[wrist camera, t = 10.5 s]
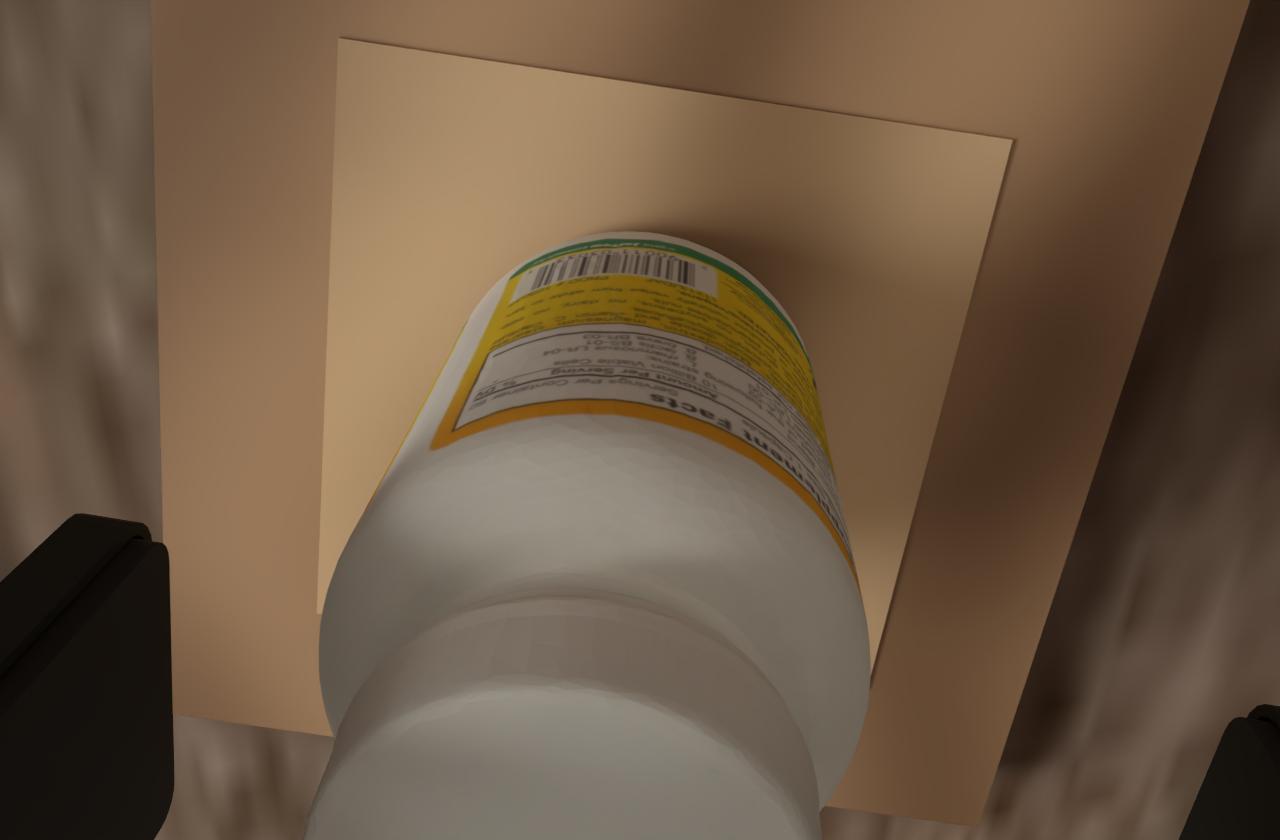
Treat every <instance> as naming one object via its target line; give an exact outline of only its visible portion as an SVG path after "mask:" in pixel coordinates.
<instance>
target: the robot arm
mask: <svg viewBox="0 0 1280 840" xmlns="http://www.w3.org/2000/svg"><path fill="white" fill-rule="evenodd" d="M173 791H174V743H173V699H172V654H171V609H170V564H169V552H168V550H167V547H166V546H165V545H164V544H163V543H159V542H153V541H152V539H151V534H150V532H149V529H148V527H147V526H146V525H144V524H143V523H139V522H133V521H127V520H120V519H114V518H108V517H102V516H96V515H89V514H83V513H82V514H75V515H73V516H72V517H70V518H69V519H67V520H66V521H65V522H64V523H63V524H62V525H61V526H60V527H59V528H58V529H57V530H56V531H55V532H53V533H52V534H51V535H50V536H49V537H48V538H47V539H46V540H45V541H44V542H43V543H42V544H41V545H40V546H38V547H37V548H36V549H35V550H34V551H33V552H32V553H31V554H30V555H29V556H28V557H27V558H26V559H25V560H24V561H22V562H21V563H20V564H19V565H18V566H17V567H16V568H15V569H14V570H13V571H12V572H11V573H10V574H9V575H8V576H6V577H5V578H4V579H3V580H2V581H1V582H0V840H154V839H155V837H156V835H157V834H158V832H159V831H160V829H161V827H162V825H163V823H164V821H165V819H166V817H167V814H168V811H169V808H170V805H171V801H172V797H173ZM1179 840H1280V706H1274V705H1268V704H1264V705H1260V706H1257V707H1256V708H1254V709H1253V710H1252V711H1251V712H1250V713H1249V715H1248V717H1247V718H1243V717H1238V718H1234V719H1233V720H1232V721H1231V722H1230V723H1229V724H1228V726H1227V728H1226V729H1225V731H1224V734H1223V736H1222V738H1221V741H1220V743H1219V745H1218V748H1217V750H1216V753H1215V755H1214V757H1213V760H1212V762H1211V764H1210V767H1209V769H1208V772H1207V774H1206V776H1205V779H1204V781H1203V783H1202V786H1201V788H1200V791H1199V793H1198V795H1197V798H1196V800H1195V802H1194V805H1193V807H1192V809H1191V812H1190V814H1189V817H1188V819H1187V821H1186V824H1185V826H1184V828H1183V831H1182V833H1181V836H1180V838H1179Z"/></svg>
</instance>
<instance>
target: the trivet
mask: <svg viewBox="0 0 1280 840" xmlns="http://www.w3.org/2000/svg"><path fill="white" fill-rule="evenodd" d="M1249 3H1250V0H151V40H152V83H153V126H154V168H155V211H156V254H157V297H158V340H159V382H160V425H161V468H162V511H163V544H164V545H165V546H166V547H167V550H168V552H169V564H170V609H171V654H172V699H173V714H175V715H182V716H189V717H196V718H204V719H211V720H218V721H225V722H232V723H239V724H246V725H253V726H260V727H268V728H275V729H282V730H289V731H296V732H303V733H310V734H317V735H325V736H332V737H334V736H333V733H332V730H331V727H330V725H329V722H328V719H327V716H326V712H325V707H324V703H323V698H322V692H321V686H320V678H319V649H318V647H319V635H320V623H321V618H322V612H323V607H324V603H325V599H326V595H327V590H328V587H329V585H330V582H331V579H332V576H333V573H334V571H335V568H336V565H337V562H338V560H339V558H340V556H341V554H342V552H343V550H344V548H345V546H346V544H347V542H348V540H349V538H350V536H351V534H352V532H353V530H354V529H355V527H356V525H357V523H358V521H359V520H360V518H361V516H362V514H363V512H364V511H365V509H366V507H367V505H368V503H369V501H370V499H371V497H372V496H373V494H374V492H375V490H376V488H377V486H378V484H379V483H380V481H381V479H382V477H383V475H384V474H385V472H386V470H387V468H388V466H389V465H390V463H391V461H392V459H393V457H394V456H395V454H396V452H397V450H398V448H399V447H400V445H401V443H402V441H403V439H404V438H405V436H406V434H407V432H408V430H409V428H410V426H411V425H412V423H413V421H414V419H415V417H416V415H417V413H418V411H419V409H420V407H421V406H422V404H423V402H424V400H425V398H426V396H427V394H428V393H429V391H430V389H431V387H432V385H433V383H434V381H435V379H436V377H437V376H438V374H439V372H440V370H441V368H442V366H443V365H444V363H445V361H446V359H447V357H448V356H449V354H450V352H451V350H452V348H453V346H454V344H455V342H456V340H457V338H458V336H459V334H460V332H461V330H462V329H463V327H464V325H465V324H466V322H467V321H468V319H469V317H470V316H471V314H472V312H473V311H474V309H475V308H476V306H477V305H478V304H479V302H480V301H481V300H482V299H483V297H484V296H485V295H486V294H487V292H488V291H489V290H490V289H491V288H492V287H493V286H494V285H495V284H496V283H497V282H498V281H499V280H500V279H501V278H503V277H504V276H505V275H506V274H507V273H508V272H510V271H511V270H512V269H513V268H515V267H516V266H517V265H519V264H520V263H522V262H523V261H525V260H527V259H528V258H530V257H532V256H534V255H535V254H537V253H539V252H541V251H543V250H545V249H547V248H549V247H552V246H554V245H556V244H559V243H561V242H564V241H567V240H570V239H574V238H577V237H580V236H585V235H591V234H597V233H604V232H621V231H635V232H651V233H657V234H663V235H668V236H672V237H676V238H680V239H684V240H687V241H690V242H693V243H695V244H698V245H701V246H703V247H706V248H708V249H710V250H713V251H715V252H717V253H719V254H721V255H723V256H724V257H726V258H728V259H730V260H731V261H733V262H735V263H736V264H738V265H739V266H740V267H742V268H743V269H745V270H746V271H747V272H749V273H750V274H751V275H752V276H753V277H755V278H756V279H757V280H758V281H759V282H760V283H761V284H762V285H763V286H764V287H765V288H766V289H767V290H768V291H769V292H770V293H771V294H772V295H773V296H774V298H775V299H776V300H777V301H778V302H779V303H780V305H781V306H782V307H783V309H784V310H785V311H786V313H787V314H788V316H789V317H790V319H791V320H792V322H793V323H794V325H795V326H796V328H797V330H798V332H799V334H800V337H801V339H802V341H803V343H804V346H805V349H806V352H807V355H808V358H809V360H810V364H811V368H812V372H813V376H814V379H815V382H816V386H817V392H818V397H819V401H820V406H821V411H822V417H823V422H824V427H825V431H826V436H827V441H828V445H829V450H830V454H831V459H832V463H833V468H834V473H835V477H836V482H837V486H838V490H839V494H840V498H841V503H842V507H843V512H844V517H845V521H846V526H847V531H848V535H849V540H850V545H851V549H852V553H853V556H854V562H855V567H856V572H857V576H858V581H859V585H860V590H861V595H862V600H863V604H864V609H865V614H866V619H867V626H868V634H869V642H870V659H871V675H870V692H869V700H868V708H867V712H866V716H865V720H864V724H863V728H862V731H861V735H860V738H859V741H858V744H857V747H856V751H855V753H854V755H853V757H852V760H851V762H850V764H849V766H848V768H847V770H846V772H845V774H844V776H843V778H842V779H841V781H840V783H839V784H838V786H837V788H836V789H835V791H834V793H833V794H832V796H831V797H830V799H829V800H828V801H827V803H826V804H825V805H824V806H830V807H837V808H844V809H851V810H858V811H865V812H872V813H879V814H887V815H894V816H901V817H908V818H915V819H922V820H929V821H936V822H943V823H951V824H958V825H965V826H972V827H978V825H979V822H980V819H981V816H982V813H983V810H984V807H985V804H986V801H987V798H988V795H989V792H990V789H991V786H992V783H993V780H994V777H995V774H996V771H997V768H998V765H999V762H1000V759H1001V756H1002V753H1003V749H1004V746H1005V743H1006V740H1007V737H1008V734H1009V731H1010V728H1011V725H1012V722H1013V719H1014V716H1015V713H1016V710H1017V707H1018V704H1019V701H1020V698H1021V695H1022V692H1023V689H1024V686H1025V683H1026V680H1027V677H1028V674H1029V671H1030V668H1031V664H1032V661H1033V658H1034V655H1035V652H1036V649H1037V646H1038V643H1039V640H1040V637H1041V634H1042V631H1043V628H1044V625H1045V622H1046V619H1047V616H1048V613H1049V610H1050V607H1051V604H1052V601H1053V598H1054V595H1055V592H1056V589H1057V586H1058V583H1059V579H1060V576H1061V573H1062V570H1063V567H1064V564H1065V561H1066V558H1067V555H1068V552H1069V549H1070V546H1071V543H1072V540H1073V537H1074V534H1075V531H1076V528H1077V525H1078V522H1079V519H1080V516H1081V513H1082V510H1083V507H1084V504H1085V501H1086V498H1087V494H1088V491H1089V488H1090V485H1091V482H1092V479H1093V476H1094V473H1095V470H1096V467H1097V464H1098V461H1099V458H1100V455H1101V452H1102V449H1103V446H1104V443H1105V440H1106V437H1107V434H1108V431H1109V428H1110V425H1111V422H1112V419H1113V416H1114V412H1115V409H1116V406H1117V403H1118V400H1119V397H1120V394H1121V391H1122V388H1123V385H1124V382H1125V379H1126V376H1127V373H1128V370H1129V367H1130V364H1131V361H1132V358H1133V355H1134V352H1135V349H1136V346H1137V343H1138V340H1139V337H1140V334H1141V331H1142V327H1143V324H1144V321H1145V318H1146V315H1147V312H1148V309H1149V306H1150V303H1151V300H1152V297H1153V294H1154V291H1155V288H1156V285H1157V282H1158V279H1159V276H1160V273H1161V270H1162V267H1163V264H1164V261H1165V258H1166V255H1167V252H1168V249H1169V246H1170V242H1171V239H1172V236H1173V233H1174V230H1175V227H1176V224H1177V221H1178V218H1179V215H1180V212H1181V209H1182V206H1183V203H1184V200H1185V197H1186V194H1187V191H1188V188H1189V185H1190V182H1191V179H1192V176H1193V173H1194V170H1195V167H1196V164H1197V161H1198V157H1199V154H1200V151H1201V148H1202V145H1203V142H1204V139H1205V136H1206V133H1207V130H1208V127H1209V124H1210V121H1211V118H1212V115H1213V112H1214V109H1215V106H1216V103H1217V100H1218V97H1219V94H1220V91H1221V88H1222V85H1223V82H1224V79H1225V75H1226V72H1227V69H1228V66H1229V63H1230V60H1231V57H1232V54H1233V51H1234V48H1235V45H1236V42H1237V39H1238V36H1239V33H1240V30H1241V27H1242V24H1243V21H1244V18H1245V15H1246V12H1247V9H1248V6H1249Z"/></svg>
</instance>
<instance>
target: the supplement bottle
mask: <svg viewBox="0 0 1280 840" xmlns="http://www.w3.org/2000/svg"><path fill="white" fill-rule="evenodd" d="M318 649H319V678H320V686H321V692H322V698H323V703H324V707H325V712H326V716H327V719H328V722H329V725H330V727H331V730H332V733H333V736H334V739H335V743H334V748H333V752H332V755H331V757H330V760H329V762H328V765H327V767H326V770H325V772H324V775H323V777H322V780H321V782H320V785H319V787H318V790H317V793H316V795H315V798H314V800H313V803H312V806H311V809H310V811H309V814H308V818H307V823H306V828H305V833H304V838H303V840H822V834H821V824H820V814H819V812H820V811H821V810H822V808H823V807H824V805H825V804H826V803H827V801H828V800H829V799H830V797H831V796H832V794H833V793H834V791H835V789H836V788H837V786H838V784H839V783H840V781H841V779H842V778H843V776H844V774H845V772H846V770H847V768H848V766H849V764H850V762H851V760H852V757H853V755H854V753H855V751H856V747H857V744H858V741H859V738H860V735H861V731H862V728H863V724H864V720H865V716H866V712H867V708H868V700H869V692H870V675H871V659H870V642H869V634H868V626H867V619H866V614H865V609H864V604H863V600H862V595H861V590H860V585H859V581H858V576H857V572H856V567H855V562H854V556H853V553H852V549H851V545H850V540H849V535H848V531H847V526H846V521H845V517H844V512H843V507H842V503H841V498H840V494H839V490H838V486H837V482H836V477H835V473H834V468H833V463H832V459H831V454H830V450H829V445H828V441H827V436H826V431H825V427H824V422H823V417H822V411H821V406H820V401H819V397H818V392H817V386H816V382H815V379H814V376H813V372H812V368H811V364H810V360H809V358H808V355H807V352H806V349H805V346H804V343H803V341H802V339H801V337H800V334H799V332H798V330H797V328H796V326H795V325H794V323H793V322H792V320H791V319H790V317H789V316H788V314H787V313H786V311H785V310H784V309H783V307H782V306H781V305H780V303H779V302H778V301H777V300H776V299H775V298H774V296H773V295H772V294H771V293H770V292H769V291H768V290H767V289H766V288H765V287H764V286H763V285H762V284H761V283H760V282H759V281H758V280H757V279H756V278H755V277H753V276H752V275H751V274H750V273H749V272H747V271H746V270H745V269H743V268H742V267H740V266H739V265H738V264H736V263H735V262H733V261H731V260H730V259H728V258H726V257H724V256H723V255H721V254H719V253H717V252H715V251H713V250H710V249H708V248H706V247H703V246H701V245H698V244H695V243H693V242H690V241H687V240H684V239H680V238H676V237H672V236H668V235H663V234H657V233H651V232H635V231H621V232H604V233H597V234H591V235H585V236H580V237H577V238H574V239H570V240H567V241H564V242H561V243H559V244H556V245H554V246H552V247H549V248H547V249H545V250H543V251H541V252H539V253H537V254H535V255H534V256H532V257H530V258H528V259H527V260H525V261H523V262H522V263H520V264H519V265H517V266H516V267H515V268H513V269H512V270H511V271H510V272H508V273H507V274H506V275H505V276H504V277H503V278H501V279H500V280H499V281H498V282H497V283H496V284H495V285H494V286H493V287H492V288H491V289H490V290H489V291H488V292H487V294H486V295H485V296H484V297H483V299H482V300H481V301H480V302H479V304H478V305H477V306H476V308H475V309H474V311H473V312H472V314H471V316H470V317H469V319H468V321H467V322H466V324H465V325H464V327H463V329H462V330H461V332H460V334H459V336H458V338H457V340H456V342H455V344H454V346H453V348H452V350H451V352H450V354H449V356H448V357H447V359H446V361H445V363H444V365H443V366H442V368H441V370H440V372H439V374H438V376H437V377H436V379H435V381H434V383H433V385H432V387H431V389H430V391H429V393H428V394H427V396H426V398H425V400H424V402H423V404H422V406H421V407H420V409H419V411H418V413H417V415H416V417H415V419H414V421H413V423H412V425H411V426H410V428H409V430H408V432H407V434H406V436H405V438H404V439H403V441H402V443H401V445H400V447H399V448H398V450H397V452H396V454H395V456H394V457H393V459H392V461H391V463H390V465H389V466H388V468H387V470H386V472H385V474H384V475H383V477H382V479H381V481H380V483H379V484H378V486H377V488H376V490H375V492H374V494H373V496H372V497H371V499H370V501H369V503H368V505H367V507H366V509H365V511H364V512H363V514H362V516H361V518H360V520H359V521H358V523H357V525H356V527H355V529H354V530H353V532H352V534H351V536H350V538H349V540H348V542H347V544H346V546H345V548H344V550H343V552H342V554H341V556H340V558H339V560H338V562H337V565H336V568H335V571H334V573H333V576H332V579H331V582H330V585H329V587H328V590H327V595H326V599H325V603H324V607H323V612H322V618H321V623H320V635H319V647H318Z"/></svg>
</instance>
